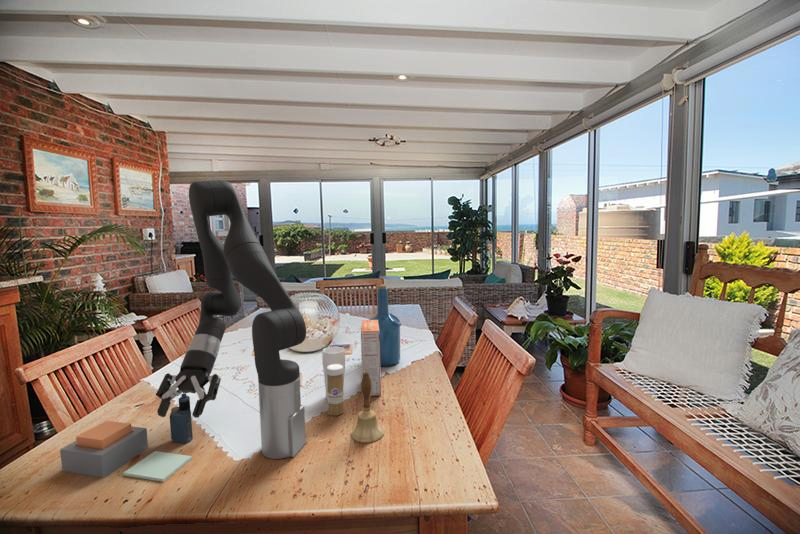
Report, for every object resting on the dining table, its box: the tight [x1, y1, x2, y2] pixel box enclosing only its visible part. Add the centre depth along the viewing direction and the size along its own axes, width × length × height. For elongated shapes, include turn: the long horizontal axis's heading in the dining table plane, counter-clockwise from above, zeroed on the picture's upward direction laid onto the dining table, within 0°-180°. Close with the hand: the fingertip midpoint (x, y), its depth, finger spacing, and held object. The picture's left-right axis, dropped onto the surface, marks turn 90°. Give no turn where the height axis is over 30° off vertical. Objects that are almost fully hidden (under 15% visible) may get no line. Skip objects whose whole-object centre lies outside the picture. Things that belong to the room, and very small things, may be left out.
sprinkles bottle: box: [327, 364, 345, 416], centre depth 107 cm, size 5×5×13 cm
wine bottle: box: [368, 284, 402, 367], centre depth 146 cm, size 14×13×30 cm
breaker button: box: [75, 420, 132, 450], centre depth 86 cm, size 7×7×3 cm
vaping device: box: [169, 393, 194, 444], centre depth 93 cm, size 3×5×12 cm, turn 78°
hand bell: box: [350, 372, 385, 444], centre depth 96 cm, size 8×8×16 cm
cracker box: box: [360, 319, 382, 397], centre depth 123 cm, size 14×6×21 cm, turn 5°
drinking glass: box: [321, 346, 346, 399], centre depth 116 cm, size 7×7×15 cm
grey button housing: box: [59, 425, 149, 478], centre depth 86 cm, size 11×11×5 cm
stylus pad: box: [123, 450, 193, 483], centre depth 84 cm, size 10×8×1 cm
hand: (178, 416), depth 93 cm, fingers open, 8 cm apart
